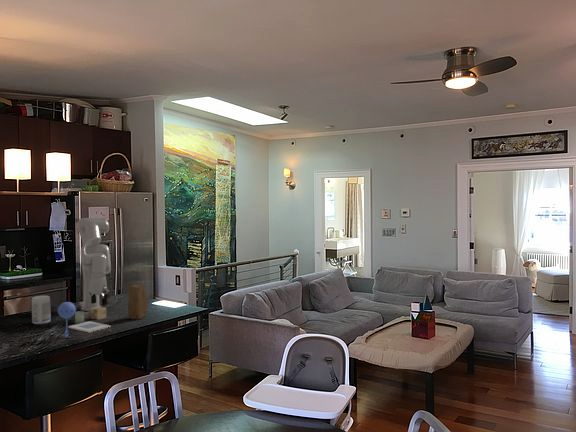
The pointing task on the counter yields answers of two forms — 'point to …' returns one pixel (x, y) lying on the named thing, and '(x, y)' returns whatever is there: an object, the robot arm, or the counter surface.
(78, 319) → the sage drum
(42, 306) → the supplement tub
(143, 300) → the block
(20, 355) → the counter surface
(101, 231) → the robot arm
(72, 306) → the baby rattle
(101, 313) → the oak cube
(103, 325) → the plan board
